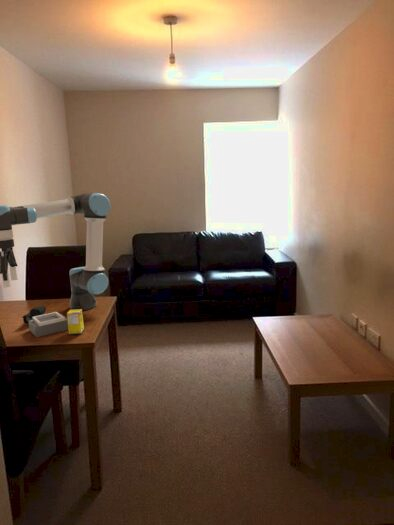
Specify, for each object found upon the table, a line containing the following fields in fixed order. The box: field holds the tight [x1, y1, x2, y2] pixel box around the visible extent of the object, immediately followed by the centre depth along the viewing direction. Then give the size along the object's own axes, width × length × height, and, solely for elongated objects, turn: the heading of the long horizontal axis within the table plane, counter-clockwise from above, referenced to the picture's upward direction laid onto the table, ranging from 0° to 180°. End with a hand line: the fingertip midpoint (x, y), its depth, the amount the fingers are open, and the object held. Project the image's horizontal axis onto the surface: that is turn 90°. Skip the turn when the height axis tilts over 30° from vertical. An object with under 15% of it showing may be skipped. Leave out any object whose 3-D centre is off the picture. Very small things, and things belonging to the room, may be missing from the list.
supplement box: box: [66, 309, 85, 336], centre depth 202 cm, size 6×6×11 cm
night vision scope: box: [21, 305, 47, 325], centre depth 221 cm, size 8×18×10 cm
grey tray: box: [28, 311, 69, 338], centre depth 208 cm, size 16×12×6 cm
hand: (10, 283), depth 201 cm, fingers open, 13 cm apart
